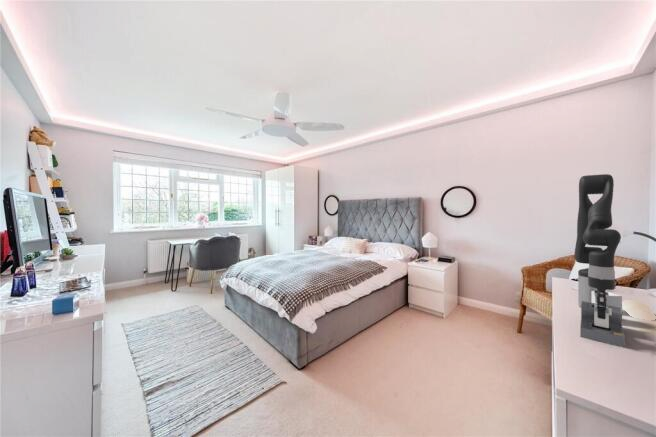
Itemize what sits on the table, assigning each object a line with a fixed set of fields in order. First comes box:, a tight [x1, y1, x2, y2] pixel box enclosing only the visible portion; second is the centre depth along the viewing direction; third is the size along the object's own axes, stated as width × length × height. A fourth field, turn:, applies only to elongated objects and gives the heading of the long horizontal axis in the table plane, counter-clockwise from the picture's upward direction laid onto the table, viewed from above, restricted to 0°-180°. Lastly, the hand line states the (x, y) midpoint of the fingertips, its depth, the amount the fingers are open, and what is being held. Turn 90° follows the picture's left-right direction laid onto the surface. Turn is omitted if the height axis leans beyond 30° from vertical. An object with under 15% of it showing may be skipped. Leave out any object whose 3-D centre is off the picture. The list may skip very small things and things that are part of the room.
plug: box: [594, 305, 612, 328], centre depth 103 cm, size 3×5×8 cm, turn 43°
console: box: [579, 301, 626, 348], centre depth 107 cm, size 24×12×9 cm, turn 133°
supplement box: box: [591, 291, 623, 314], centre depth 119 cm, size 7×7×13 cm
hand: (601, 317), depth 103 cm, fingers closed on plug, 3 cm apart
